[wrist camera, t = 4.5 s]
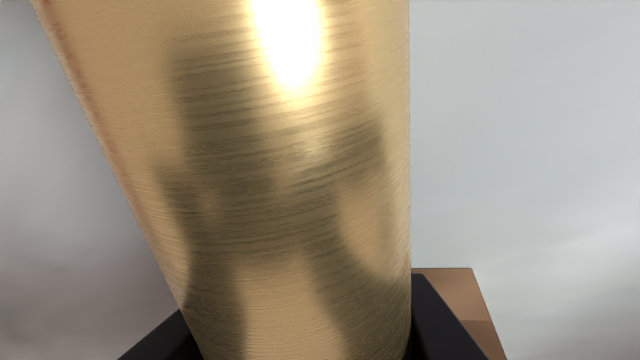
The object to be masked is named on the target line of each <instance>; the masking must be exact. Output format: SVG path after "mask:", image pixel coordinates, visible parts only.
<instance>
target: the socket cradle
mask: <svg viewBox="0 0 640 360" xmlns="http://www.w3.org/2000/svg"><path fill="white" fill-rule="evenodd" d="M411 272H421V273H423V274H424V275H425V276H426V277H427V279H428V280H429V281H430V283H431V284H432V285H433V286H434V288H435V289H436V290H437V292H438V293H439V294H440V296H441V297H442V298H443V299H444V301H445V302H446V303H447V305H448V306H449V307H450V309H451V310H452V311H453V312H454V314H455V315H456V316H457V318H458V319H459V320H460V322H461V323H462V324H463V325H464V327H465V328H466V329H467V331H468V332H469V333H470V334H471V336H472V337H473V338H474V340H475V341H476V342H477V344H478V345H479V346H480V347H481V349H482V350H483V351H484V353H485V354H486V355H487V357H488V358H489V359H490V360H507V358H506V356H505V353H504V351H503V348H502V345H501V343H500V340H499V338H498V335H497V332H496V330H495V327H494V325H493V322H492V320H491V317H490V314H489V312H488V309H487V307H486V304H485V301H484V299H483V296H482V294H481V291H480V289H479V286H478V283H477V281H476V278H475V276H474V273H473V270H472V268H434V269H411Z"/></svg>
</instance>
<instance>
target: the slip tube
mask: <svg viewBox="0 0 640 360" xmlns="http://www.w3.org/2000/svg"><path fill="white" fill-rule="evenodd" d="M30 3H31V5H32V7H33V9H34V11H35V13H36V15H37V17H38V19H39V21H40V23H41V25H42V27H43V29H44V31H45V33H46V35H47V37H48V39H49V42H50V44H51V46H52V48H53V50H54V52H55V54H56V56H57V58H58V60H59V62H60V64H61V66H62V68H63V70H64V72H65V74H66V76H67V78H68V81H69V83H70V85H71V87H72V89H73V91H74V93H75V95H76V97H77V99H78V101H79V103H80V105H81V107H82V109H83V111H84V113H85V115H86V118H87V120H88V122H89V124H90V126H91V128H92V130H93V132H94V134H95V136H96V138H97V140H98V142H99V144H100V146H101V148H102V150H103V152H104V154H105V157H106V159H107V161H108V163H109V165H110V167H111V169H112V171H113V173H114V175H115V177H116V179H117V181H118V183H119V185H120V187H121V189H122V191H123V193H124V196H125V198H126V200H127V202H128V204H129V206H130V208H131V210H132V212H133V214H134V216H135V218H136V220H137V222H138V224H139V226H140V228H141V230H142V232H143V235H144V237H145V239H146V241H147V243H148V245H149V247H150V249H151V251H152V253H153V255H154V257H155V259H156V261H157V263H158V265H159V267H160V269H161V272H162V274H163V276H164V278H165V280H166V282H167V284H168V286H169V288H170V290H171V292H172V294H173V296H174V298H175V300H176V302H177V304H178V306H179V308H180V311H181V313H182V315H183V317H184V319H185V321H186V323H187V325H188V327H189V329H190V331H191V333H192V335H193V337H194V339H195V341H196V343H197V345H198V347H199V350H200V352H201V354H202V356H203V358H204V360H411V207H410V48H409V0H30Z"/></svg>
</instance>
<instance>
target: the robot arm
mask: <svg viewBox="0 0 640 360" xmlns="http://www.w3.org/2000/svg"><path fill="white" fill-rule="evenodd" d="M117 360H204V358H203V356H202V354H201V352H200V350H199V347H198V345H197V343H196V341H195V339H194V337H193V335H192V333H191V331H190V329H189V327H188V325H187V323H186V321H185V319H184V317H183V315H182V313H181V311H180V308H179V309H178V310H177V311H176V312H175V313H173V314H172V315H171V316H170V317H169V318H167V319H166V320H165V321H164V322H162V323H161V324H160V325H159V326H158V327H156V328H155V329H154V330H153V331H151V332H150V333H149V334H148V335H147V336H145V337H144V338H143V339H142V340H140V341H139V342H138V343H137V344H136V345H134V346H133V347H132V348H131V349H129V350H128V351H127V352H126V353H125V354H123V355H122V356H121V357H120V358H119V359H117ZM411 360H490V359H489V358H488V357H487V355H486V354H485V353H484V351H483V350H482V349H481V347H480V346H479V345H478V344H477V342H476V341H475V340H474V338H473V337H472V336H471V334H470V333H469V332H468V331H467V329H466V328H465V327H464V325H463V324H462V323H461V322H460V320H459V319H458V318H457V316H456V315H455V314H454V312H453V311H452V310H451V309H450V307H449V306H448V305H447V303H446V302H445V301H444V299H443V298H442V297H441V296H440V294H439V293H438V292H437V290H436V289H435V288H434V286H433V285H432V284H431V283H430V281H429V280H428V279H427V277H426V276H425V275H424V274H423V273H421V272H411Z"/></svg>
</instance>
